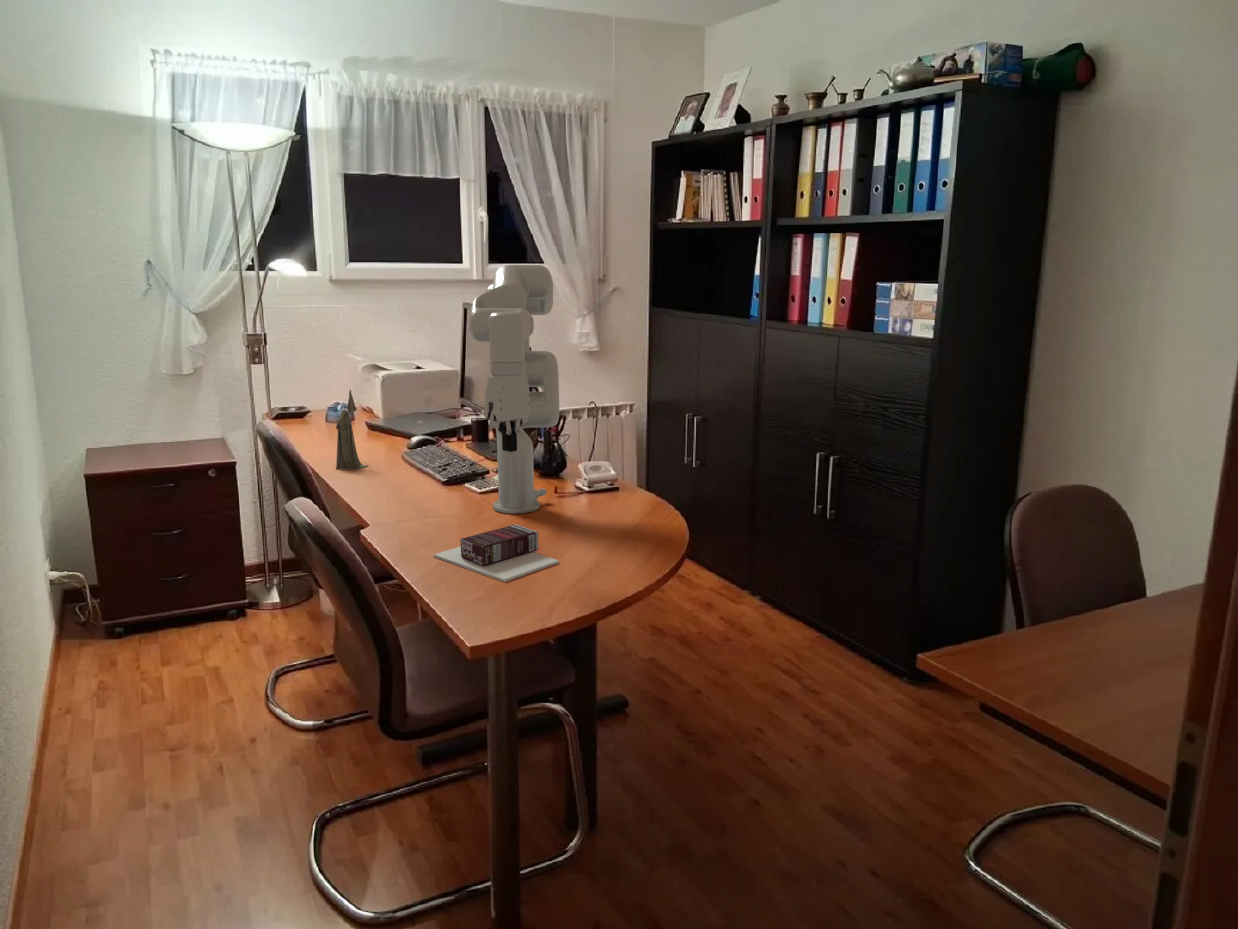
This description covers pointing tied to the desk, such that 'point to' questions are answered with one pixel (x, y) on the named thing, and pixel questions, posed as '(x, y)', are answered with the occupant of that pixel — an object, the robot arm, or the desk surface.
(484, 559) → the supplement box
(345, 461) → the wizard figurine
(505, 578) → the mat
